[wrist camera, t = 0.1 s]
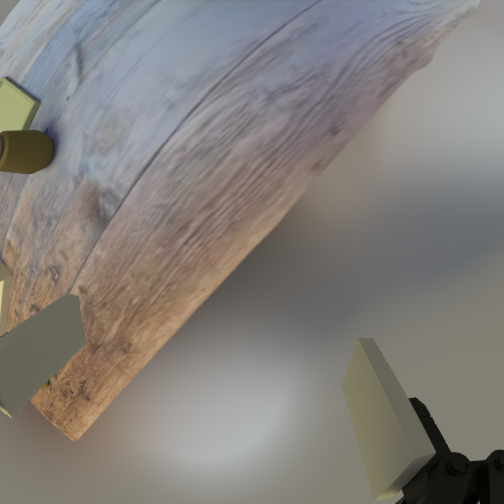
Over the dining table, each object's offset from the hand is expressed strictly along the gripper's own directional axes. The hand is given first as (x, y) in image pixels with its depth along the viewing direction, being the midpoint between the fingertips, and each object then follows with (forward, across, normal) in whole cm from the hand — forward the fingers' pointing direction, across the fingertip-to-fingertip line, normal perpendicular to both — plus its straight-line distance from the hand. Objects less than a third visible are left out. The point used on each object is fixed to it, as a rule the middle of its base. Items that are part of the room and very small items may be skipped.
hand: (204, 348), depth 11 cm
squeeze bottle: (+28, -40, +12) cm, 50 cm away
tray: (+28, -58, +22) cm, 68 cm away
